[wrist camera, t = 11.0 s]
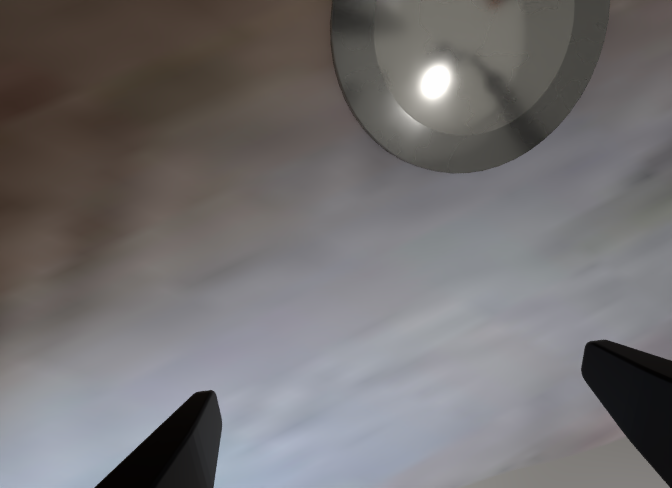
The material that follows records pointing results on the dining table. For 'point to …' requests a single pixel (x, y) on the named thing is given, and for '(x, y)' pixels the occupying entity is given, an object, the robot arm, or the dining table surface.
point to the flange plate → (464, 74)
